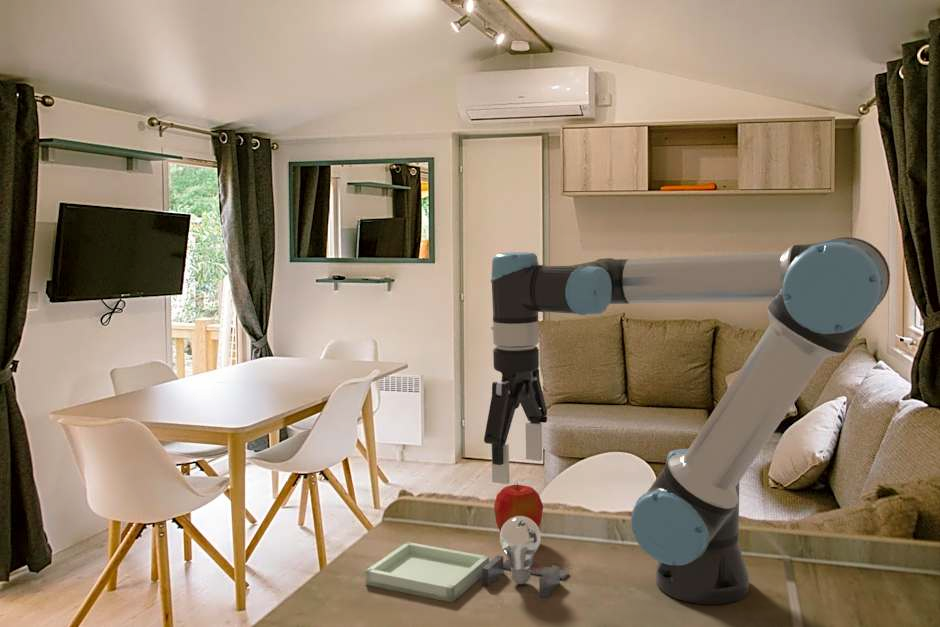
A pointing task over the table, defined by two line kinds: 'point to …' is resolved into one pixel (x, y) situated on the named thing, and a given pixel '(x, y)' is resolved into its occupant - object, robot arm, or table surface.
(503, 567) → the clip holder
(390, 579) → the parts tray
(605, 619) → the table surface
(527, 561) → the light bulb
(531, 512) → the apple
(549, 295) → the robot arm
